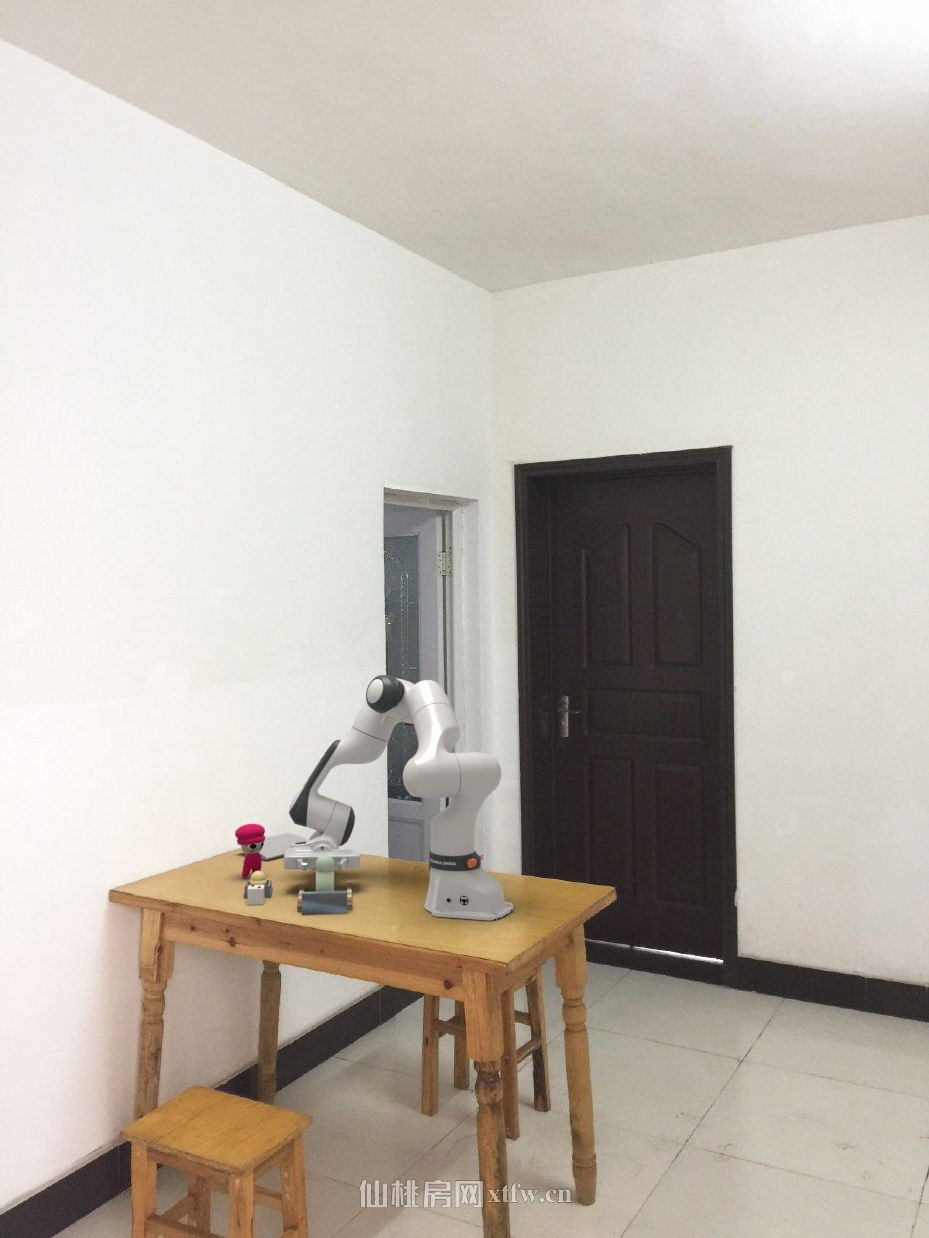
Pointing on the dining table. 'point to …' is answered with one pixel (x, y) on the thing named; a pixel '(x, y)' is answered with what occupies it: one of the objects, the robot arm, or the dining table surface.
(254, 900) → the die
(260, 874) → the dome
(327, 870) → the pawn
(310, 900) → the track
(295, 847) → the robot arm
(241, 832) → the toy
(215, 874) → the dining table surface
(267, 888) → the base
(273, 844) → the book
